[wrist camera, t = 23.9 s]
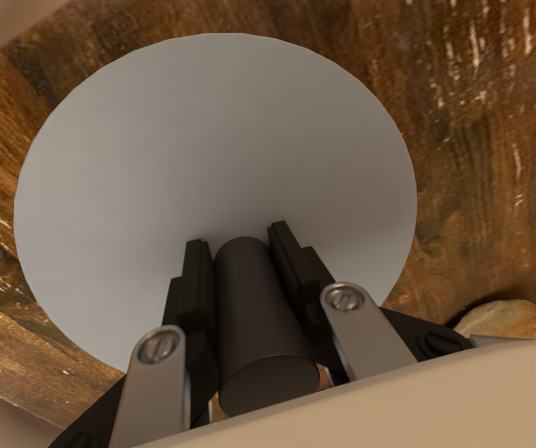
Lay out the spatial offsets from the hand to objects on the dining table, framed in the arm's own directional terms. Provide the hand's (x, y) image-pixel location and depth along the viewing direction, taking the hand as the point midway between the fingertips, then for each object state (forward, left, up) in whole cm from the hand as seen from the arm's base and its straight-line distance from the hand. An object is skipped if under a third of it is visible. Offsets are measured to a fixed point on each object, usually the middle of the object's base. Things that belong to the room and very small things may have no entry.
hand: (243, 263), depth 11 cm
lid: (0, 0, -1) cm, 1 cm away
